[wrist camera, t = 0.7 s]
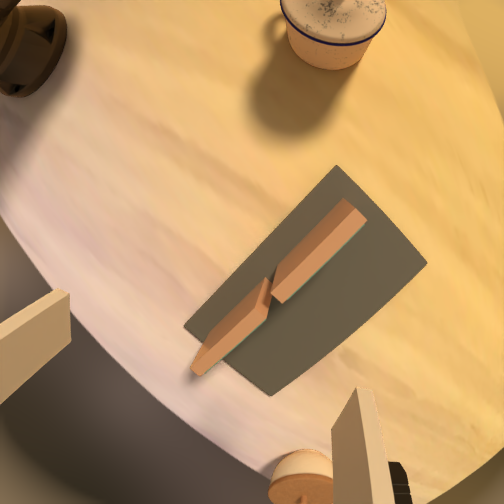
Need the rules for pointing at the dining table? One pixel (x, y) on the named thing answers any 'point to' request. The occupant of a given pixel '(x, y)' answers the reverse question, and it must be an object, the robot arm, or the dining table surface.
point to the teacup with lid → (332, 29)
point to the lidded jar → (302, 479)
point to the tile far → (234, 327)
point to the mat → (313, 288)
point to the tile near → (316, 249)
